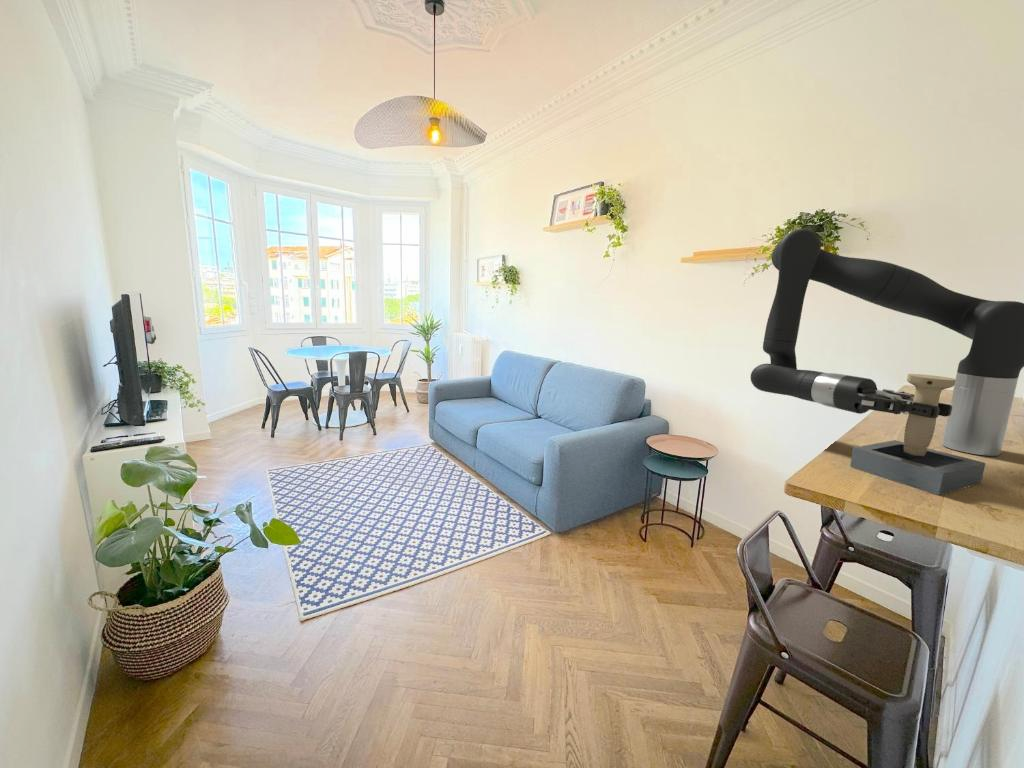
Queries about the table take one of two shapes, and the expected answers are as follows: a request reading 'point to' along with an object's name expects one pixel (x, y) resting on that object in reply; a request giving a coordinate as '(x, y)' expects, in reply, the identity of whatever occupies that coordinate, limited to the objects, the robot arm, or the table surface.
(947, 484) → the housing
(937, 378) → the handle
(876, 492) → the table surface
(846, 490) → the table surface
